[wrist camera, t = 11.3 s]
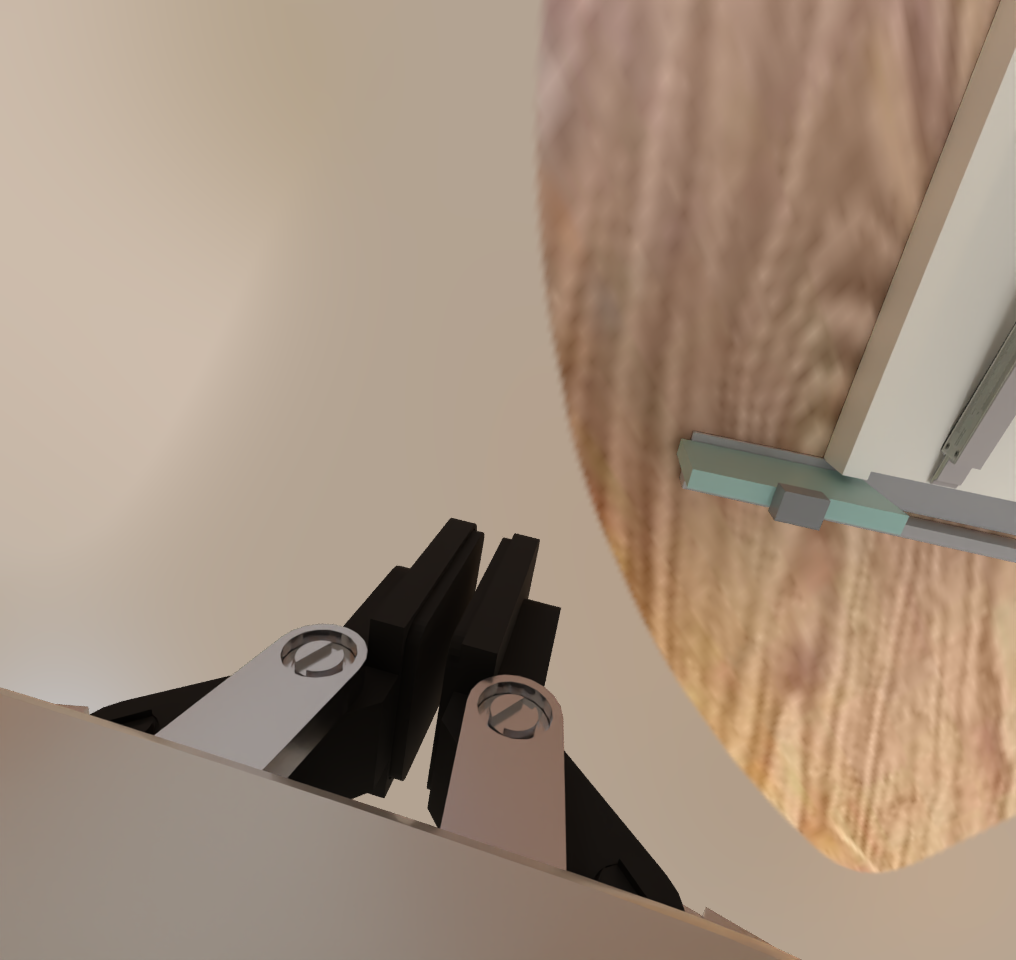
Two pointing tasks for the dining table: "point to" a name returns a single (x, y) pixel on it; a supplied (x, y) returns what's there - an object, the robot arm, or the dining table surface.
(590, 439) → the dining table surface
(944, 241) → the housing
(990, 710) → the dining table surface
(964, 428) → the caliper
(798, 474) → the gate
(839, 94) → the dining table surface
